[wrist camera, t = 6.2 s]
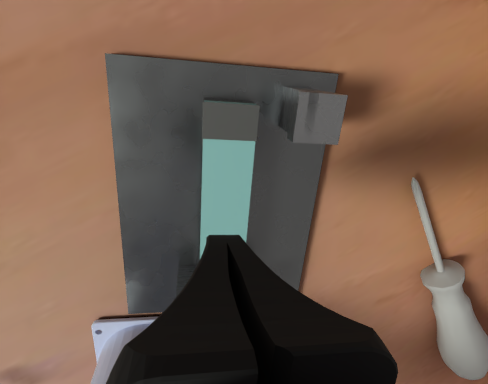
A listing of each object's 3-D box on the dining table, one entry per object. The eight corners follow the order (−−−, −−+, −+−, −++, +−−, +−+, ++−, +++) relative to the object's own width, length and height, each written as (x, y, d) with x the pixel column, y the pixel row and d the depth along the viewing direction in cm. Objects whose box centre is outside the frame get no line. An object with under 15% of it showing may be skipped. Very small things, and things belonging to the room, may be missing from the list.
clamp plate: (292, 299, 27) (315, 352, 22) (130, 306, 24) (113, 368, 19) (333, 73, 20) (380, 76, 15) (109, 53, 17) (73, 48, 12)
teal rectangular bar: (238, 300, 23) (240, 316, 22) (197, 302, 23) (197, 318, 21) (255, 103, 18) (260, 105, 16) (202, 99, 17) (203, 102, 16)
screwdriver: (412, 157, 25) (462, 165, 21) (466, 342, 34) (508, 371, 30) (369, 187, 24) (413, 200, 21) (436, 368, 33) (475, 401, 30)
